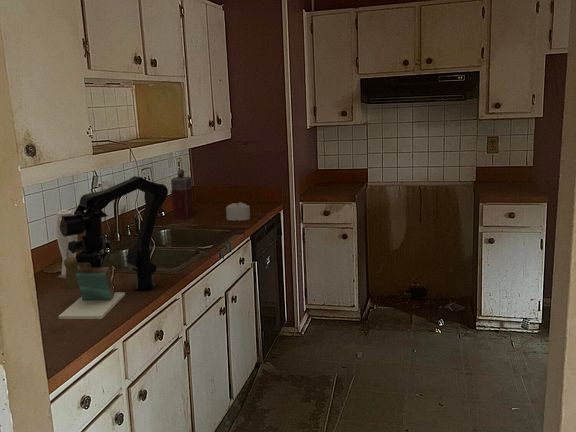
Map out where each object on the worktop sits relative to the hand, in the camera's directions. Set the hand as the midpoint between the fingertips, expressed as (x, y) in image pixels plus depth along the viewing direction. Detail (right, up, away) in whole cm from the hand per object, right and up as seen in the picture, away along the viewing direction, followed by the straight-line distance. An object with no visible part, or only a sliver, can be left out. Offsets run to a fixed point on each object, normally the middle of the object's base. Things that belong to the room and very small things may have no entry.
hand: (97, 275), depth 197 cm
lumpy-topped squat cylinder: (+38, +19, +128) cm, 135 cm away
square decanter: (+4, +19, +134) cm, 135 cm away
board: (0, -10, -4) cm, 11 cm away
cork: (-15, -6, +18) cm, 24 cm away
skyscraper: (-21, -3, +31) cm, 37 cm away
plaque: (0, -8, +1) cm, 8 cm away
